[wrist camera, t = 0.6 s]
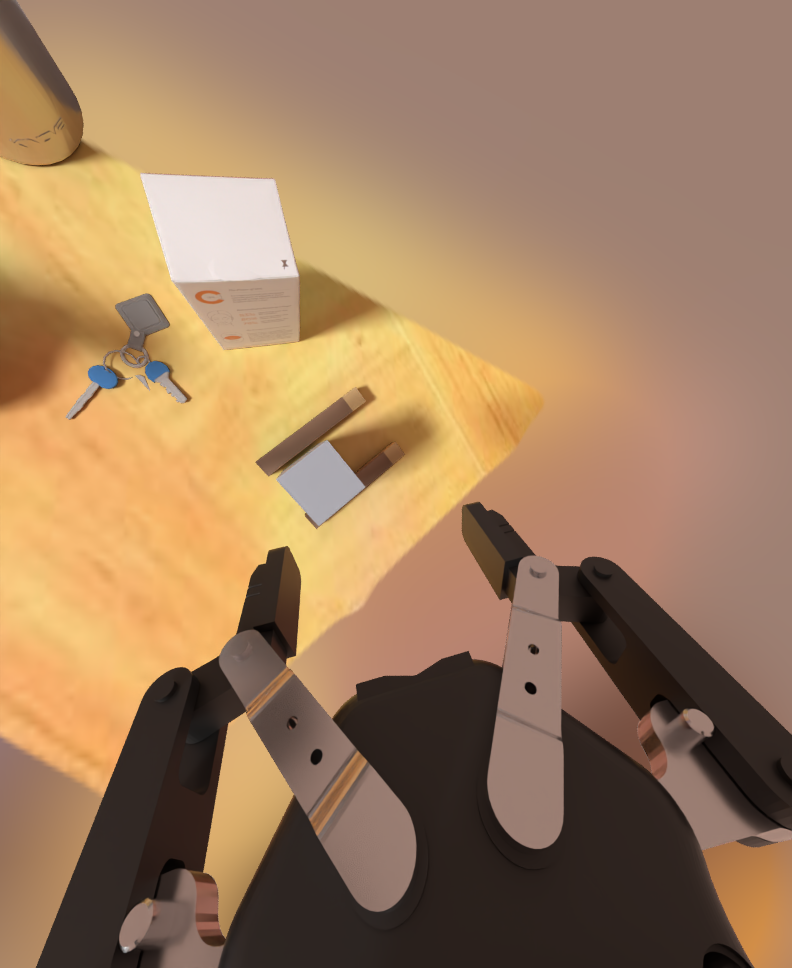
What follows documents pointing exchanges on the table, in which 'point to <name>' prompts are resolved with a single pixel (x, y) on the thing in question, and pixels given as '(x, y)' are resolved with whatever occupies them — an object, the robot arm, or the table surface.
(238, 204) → the small box
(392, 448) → the pair of brown sticks
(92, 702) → the table surface
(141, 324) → the key chain
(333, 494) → the slate block
